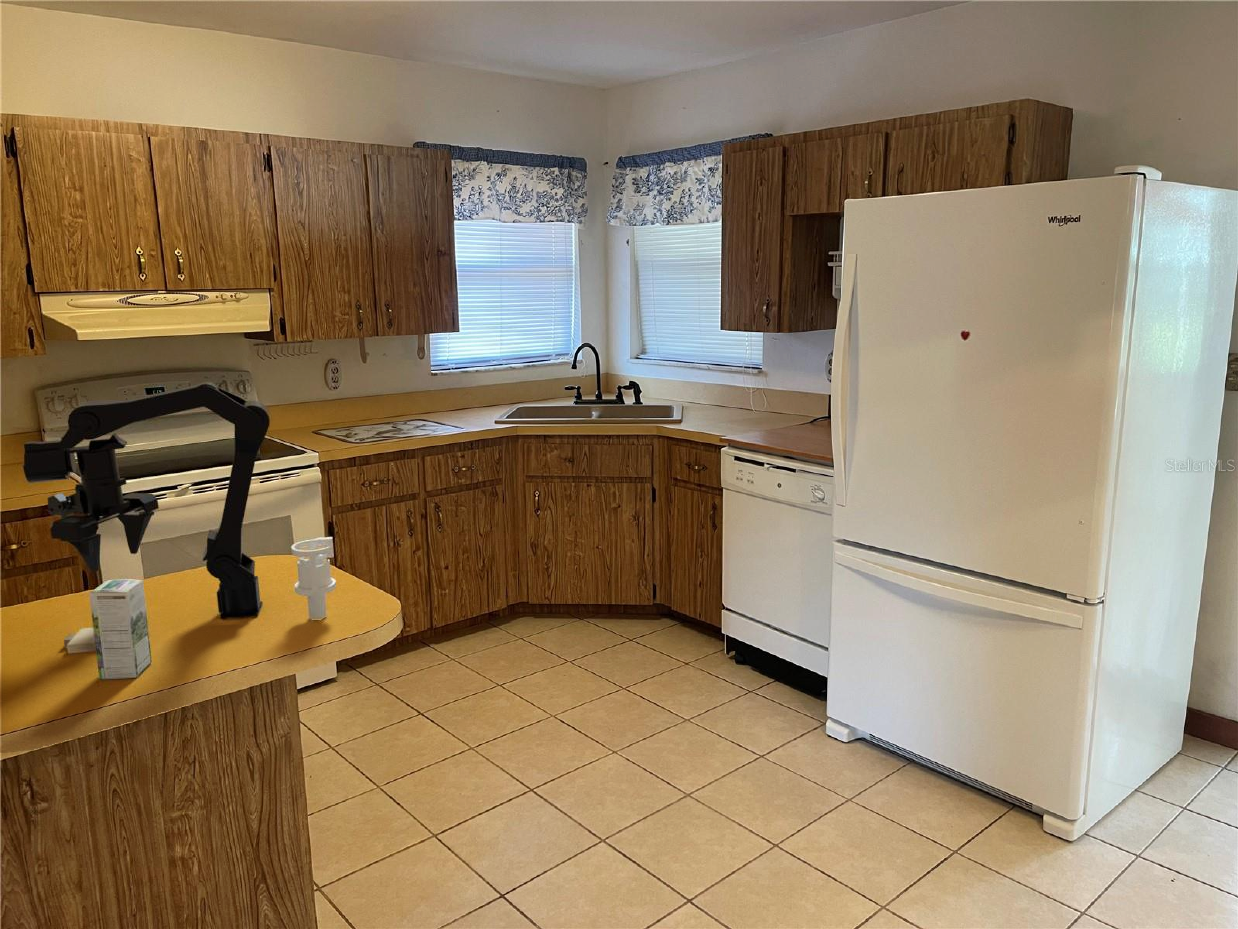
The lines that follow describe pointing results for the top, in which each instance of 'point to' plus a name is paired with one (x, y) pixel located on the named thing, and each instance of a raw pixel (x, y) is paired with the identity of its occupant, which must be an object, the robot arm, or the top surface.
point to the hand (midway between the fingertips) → (114, 562)
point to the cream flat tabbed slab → (80, 641)
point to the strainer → (314, 574)
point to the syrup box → (120, 628)
